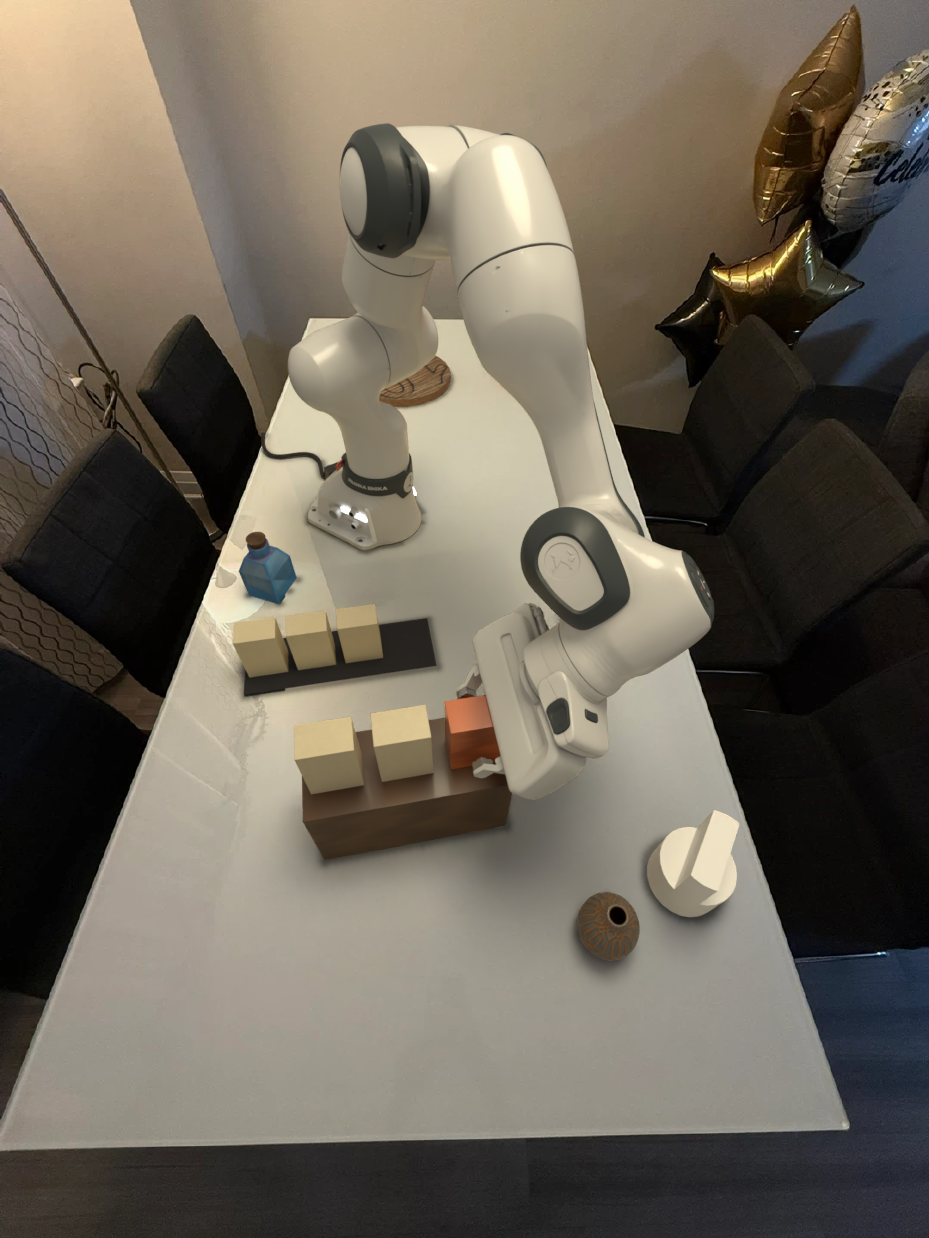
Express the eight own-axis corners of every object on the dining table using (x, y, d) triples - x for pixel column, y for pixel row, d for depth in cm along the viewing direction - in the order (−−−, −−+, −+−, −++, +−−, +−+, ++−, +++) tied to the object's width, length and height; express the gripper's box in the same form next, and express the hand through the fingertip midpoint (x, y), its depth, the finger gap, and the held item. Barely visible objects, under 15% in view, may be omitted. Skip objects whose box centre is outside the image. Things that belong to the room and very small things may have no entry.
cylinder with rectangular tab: (706, 932, 70) (745, 909, 61) (636, 890, 73) (663, 861, 64) (727, 866, 75) (767, 835, 66) (661, 829, 78) (689, 794, 68)
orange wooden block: (450, 769, 68) (450, 733, 61) (445, 739, 70) (444, 701, 63) (500, 761, 68) (506, 724, 61) (493, 731, 71) (497, 692, 64)
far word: (244, 696, 89) (225, 661, 82) (247, 645, 96) (229, 607, 88) (436, 667, 93) (435, 631, 86) (427, 620, 100) (425, 582, 92)
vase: (568, 903, 72) (580, 884, 65) (622, 898, 72) (640, 879, 65) (579, 967, 68) (594, 954, 61) (637, 961, 68) (658, 948, 61)
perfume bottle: (297, 579, 105) (282, 530, 95) (279, 604, 101) (262, 555, 92) (267, 571, 106) (249, 521, 97) (248, 595, 102) (228, 546, 93)
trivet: (408, 346, 160) (408, 339, 158) (470, 382, 148) (470, 375, 147) (333, 377, 149) (331, 370, 147) (393, 418, 137) (392, 411, 136)
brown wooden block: (324, 860, 74) (284, 789, 57) (321, 787, 81) (284, 702, 63) (505, 825, 78) (522, 748, 60) (489, 757, 84) (500, 669, 66)
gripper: (519, 585, 63) (433, 650, 70) (577, 755, 51) (465, 815, 57) (553, 605, 68) (468, 665, 74) (614, 768, 55) (506, 823, 61)
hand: (467, 732), depth 65 cm, fingers open, 8 cm apart
